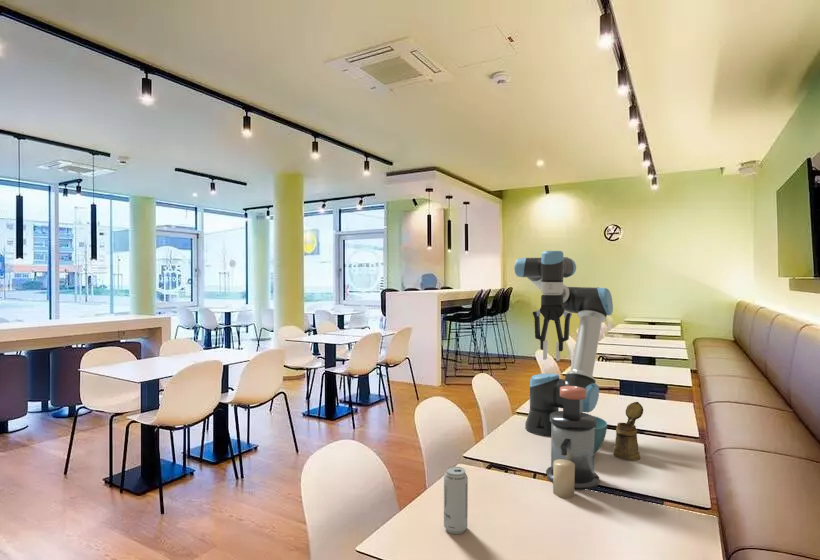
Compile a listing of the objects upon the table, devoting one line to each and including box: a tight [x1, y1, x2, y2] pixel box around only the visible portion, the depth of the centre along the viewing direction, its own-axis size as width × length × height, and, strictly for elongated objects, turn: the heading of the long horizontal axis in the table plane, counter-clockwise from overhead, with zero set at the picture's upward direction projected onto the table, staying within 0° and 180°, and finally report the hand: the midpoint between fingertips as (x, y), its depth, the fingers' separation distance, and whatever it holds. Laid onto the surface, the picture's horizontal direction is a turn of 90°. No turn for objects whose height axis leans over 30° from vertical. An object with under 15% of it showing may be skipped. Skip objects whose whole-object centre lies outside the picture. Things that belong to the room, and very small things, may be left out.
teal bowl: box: [593, 415, 608, 455], centre depth 172 cm, size 18×18×12 cm
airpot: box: [545, 398, 600, 491], centre depth 149 cm, size 21×16×26 cm
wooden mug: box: [612, 401, 644, 461], centre depth 172 cm, size 9×14×18 cm, turn 132°
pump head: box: [560, 386, 586, 400], centre depth 151 cm, size 8×8×8 cm
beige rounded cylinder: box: [552, 459, 575, 499], centre depth 141 cm, size 6×6×9 cm
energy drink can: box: [443, 466, 469, 535], centre depth 121 cm, size 6×6×15 cm
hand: (551, 359), depth 170 cm, fingers open, 4 cm apart
